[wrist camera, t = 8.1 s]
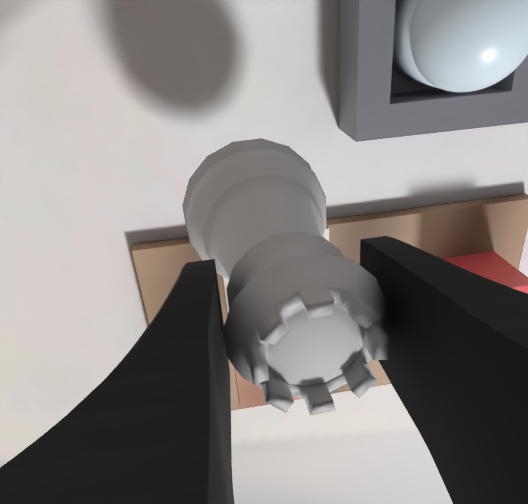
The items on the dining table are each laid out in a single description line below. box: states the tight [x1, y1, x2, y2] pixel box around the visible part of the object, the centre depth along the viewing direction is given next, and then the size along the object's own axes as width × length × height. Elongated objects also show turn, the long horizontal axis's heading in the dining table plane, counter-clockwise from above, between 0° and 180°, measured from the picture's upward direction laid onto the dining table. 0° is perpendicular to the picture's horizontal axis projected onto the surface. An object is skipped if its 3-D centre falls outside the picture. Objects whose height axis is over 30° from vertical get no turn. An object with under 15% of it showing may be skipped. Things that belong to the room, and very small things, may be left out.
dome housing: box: [338, 0, 528, 142], centre depth 16 cm, size 7×7×2 cm
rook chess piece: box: [182, 139, 389, 415], centre depth 12 cm, size 4×4×8 cm
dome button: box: [392, 0, 528, 92], centre depth 15 cm, size 4×4×4 cm
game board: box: [132, 194, 528, 410], centre depth 23 cm, size 18×10×1 cm, turn 94°
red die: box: [442, 251, 528, 294], centre depth 21 cm, size 3×3×3 cm
